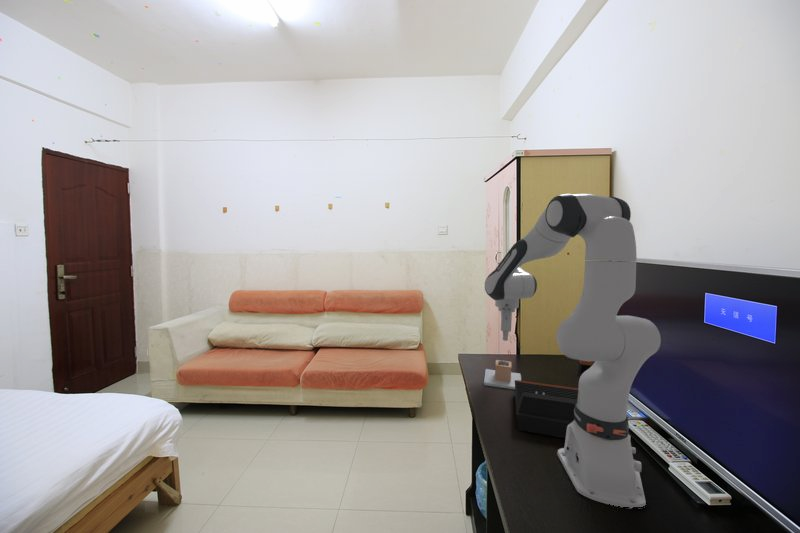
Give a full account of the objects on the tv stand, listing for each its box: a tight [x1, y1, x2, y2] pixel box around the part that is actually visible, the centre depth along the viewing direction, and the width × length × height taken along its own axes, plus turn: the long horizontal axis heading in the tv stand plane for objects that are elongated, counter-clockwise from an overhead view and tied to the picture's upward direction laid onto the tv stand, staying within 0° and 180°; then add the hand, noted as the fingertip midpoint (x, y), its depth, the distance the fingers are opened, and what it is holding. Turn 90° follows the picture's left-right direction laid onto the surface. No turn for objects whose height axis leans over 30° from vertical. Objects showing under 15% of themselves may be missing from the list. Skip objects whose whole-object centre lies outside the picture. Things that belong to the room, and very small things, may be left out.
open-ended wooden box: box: [494, 359, 512, 382], centre depth 140 cm, size 6×6×6 cm
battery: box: [577, 360, 595, 378], centre depth 145 cm, size 4×7×10 cm, turn 75°
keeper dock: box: [483, 359, 522, 391], centre depth 140 cm, size 14×14×8 cm
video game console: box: [514, 380, 578, 439], centre depth 112 cm, size 28×25×10 cm
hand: (505, 336), depth 138 cm, fingers open, 8 cm apart
